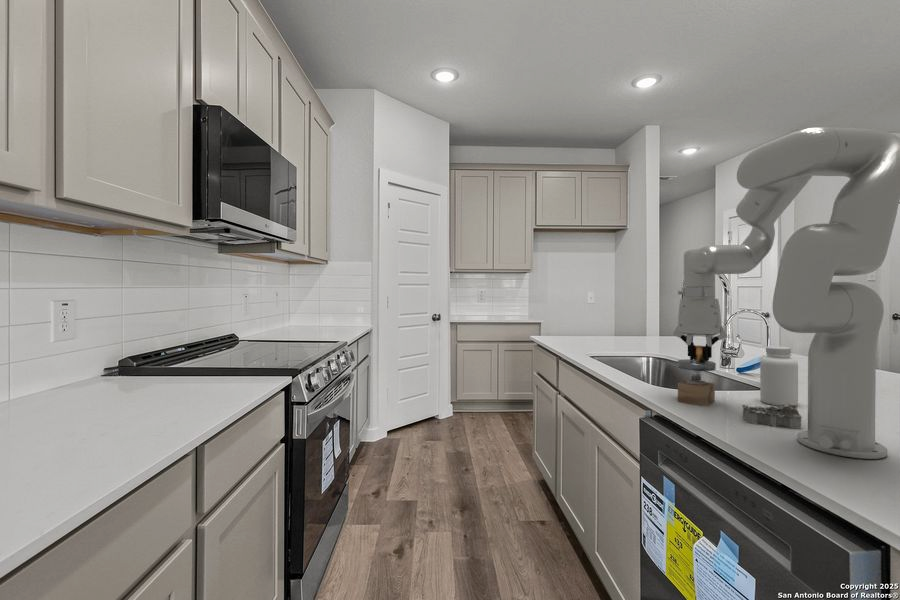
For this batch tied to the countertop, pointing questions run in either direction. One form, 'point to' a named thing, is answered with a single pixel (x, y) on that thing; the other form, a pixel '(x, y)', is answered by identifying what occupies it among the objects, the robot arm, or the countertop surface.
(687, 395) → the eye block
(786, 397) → the pill bottle
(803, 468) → the countertop surface
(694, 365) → the grey knobbed disc
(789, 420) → the egg carton
